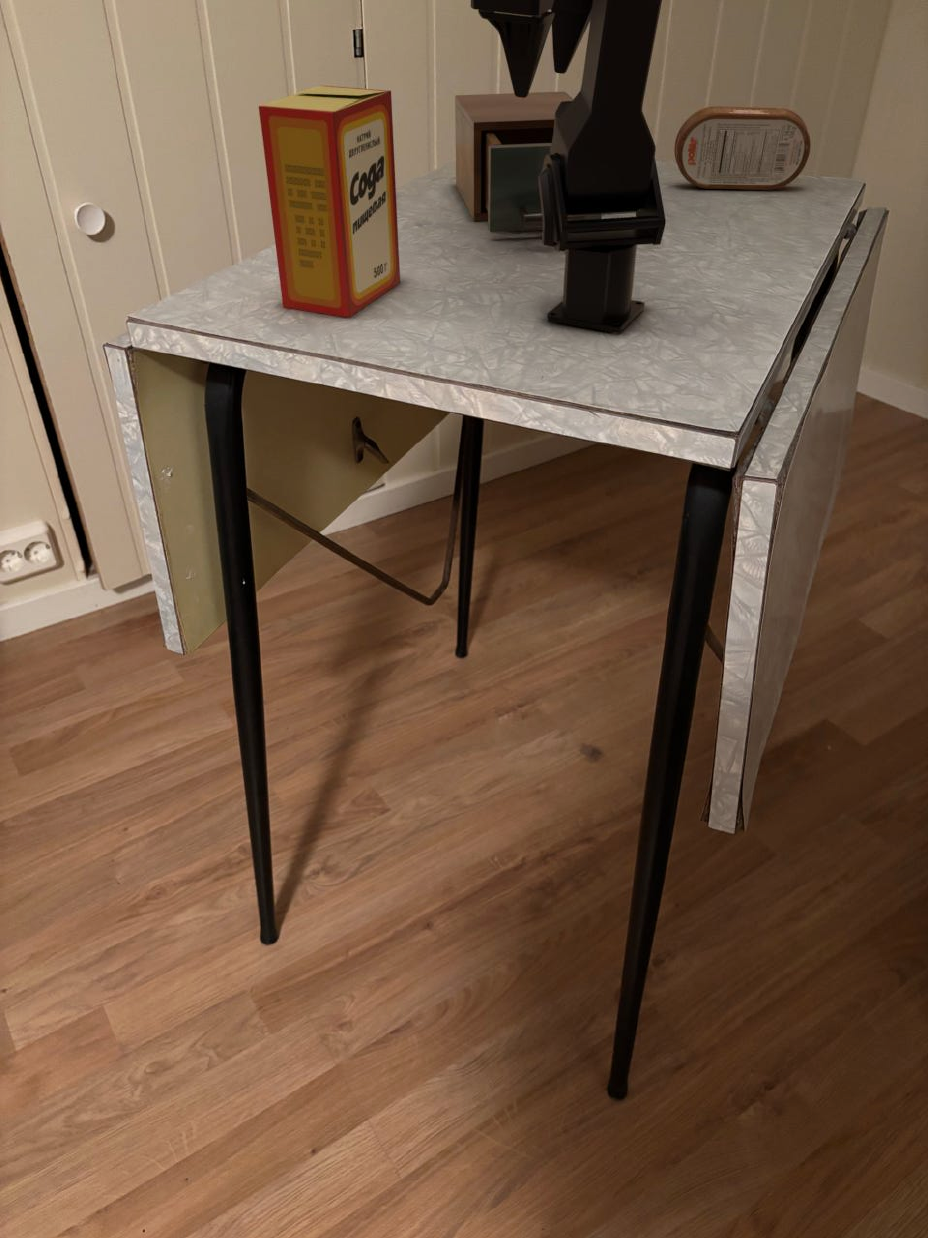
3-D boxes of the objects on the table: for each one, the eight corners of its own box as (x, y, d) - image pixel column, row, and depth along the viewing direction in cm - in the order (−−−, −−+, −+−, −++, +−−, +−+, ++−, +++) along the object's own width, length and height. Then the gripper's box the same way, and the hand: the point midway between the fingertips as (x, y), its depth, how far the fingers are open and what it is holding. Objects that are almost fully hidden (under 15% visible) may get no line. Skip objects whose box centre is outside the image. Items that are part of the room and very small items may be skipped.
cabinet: (589, 215, 106) (595, 117, 100) (473, 221, 104) (473, 122, 99) (560, 181, 117) (565, 91, 111) (456, 185, 116) (455, 95, 110)
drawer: (610, 238, 96) (617, 152, 92) (496, 244, 95) (497, 157, 90) (571, 191, 110) (575, 114, 105) (471, 196, 109) (470, 118, 104)
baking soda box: (349, 317, 83) (331, 106, 73) (283, 306, 85) (257, 100, 75) (400, 282, 89) (390, 85, 80) (338, 273, 92) (321, 80, 82)
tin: (800, 185, 115) (815, 105, 110) (804, 192, 112) (820, 111, 107) (669, 183, 116) (678, 104, 111) (671, 190, 113) (681, 109, 108)
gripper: (510, -142, 89) (504, 51, 100) (411, -121, 77) (416, 98, 87) (626, -135, 86) (607, 65, 96) (542, -112, 73) (531, 115, 84)
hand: (541, 84), depth 91 cm, fingers open, 9 cm apart
